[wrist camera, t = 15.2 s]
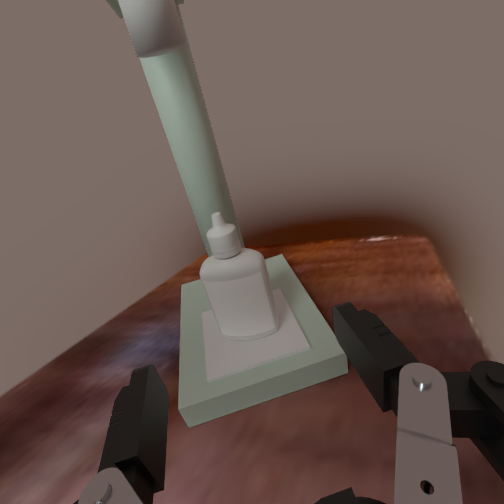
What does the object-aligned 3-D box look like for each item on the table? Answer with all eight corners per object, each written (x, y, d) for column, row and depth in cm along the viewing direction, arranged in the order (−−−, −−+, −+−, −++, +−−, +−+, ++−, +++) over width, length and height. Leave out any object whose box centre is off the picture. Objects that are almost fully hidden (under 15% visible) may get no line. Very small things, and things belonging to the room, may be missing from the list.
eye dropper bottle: (264, 353, 25) (227, 229, 19) (215, 336, 28) (171, 225, 22) (286, 319, 28) (260, 202, 22) (239, 307, 31) (206, 202, 25)
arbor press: (410, 351, 25) (454, -473, 8) (188, 427, 24) (-282, -385, 7) (323, 257, 41) (279, -96, 24) (187, 299, 39) (41, -45, 23)
